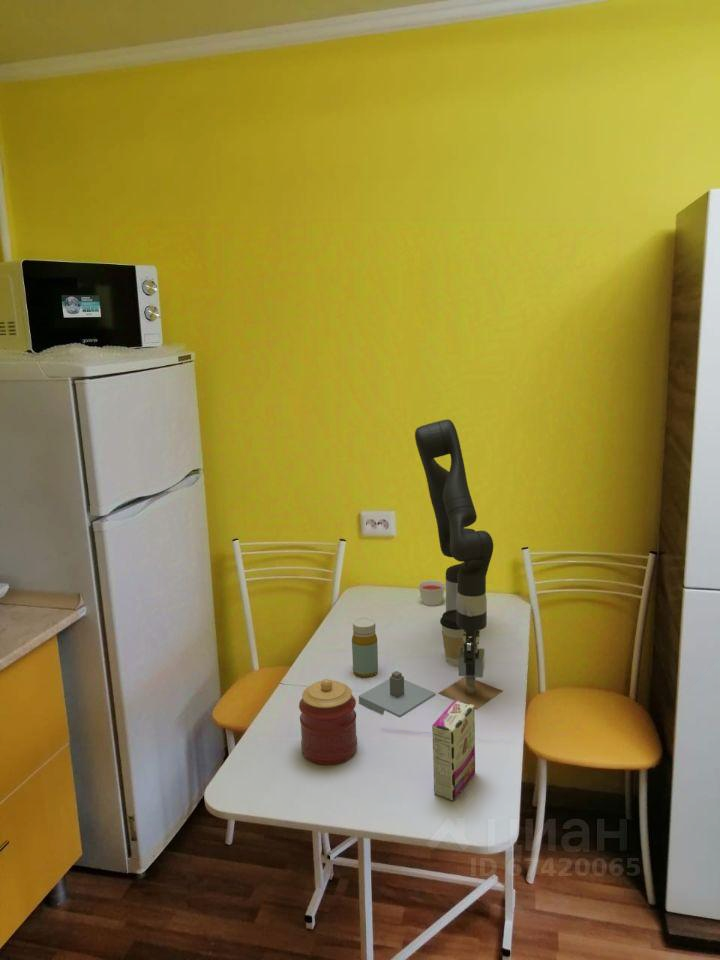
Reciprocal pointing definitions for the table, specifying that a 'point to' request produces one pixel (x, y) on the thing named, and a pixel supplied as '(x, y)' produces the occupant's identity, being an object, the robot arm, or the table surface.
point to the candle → (432, 592)
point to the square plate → (395, 696)
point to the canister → (328, 722)
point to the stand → (471, 692)
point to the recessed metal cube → (478, 664)
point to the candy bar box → (454, 749)
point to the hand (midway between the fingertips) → (471, 668)
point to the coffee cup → (452, 637)
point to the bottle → (364, 648)
